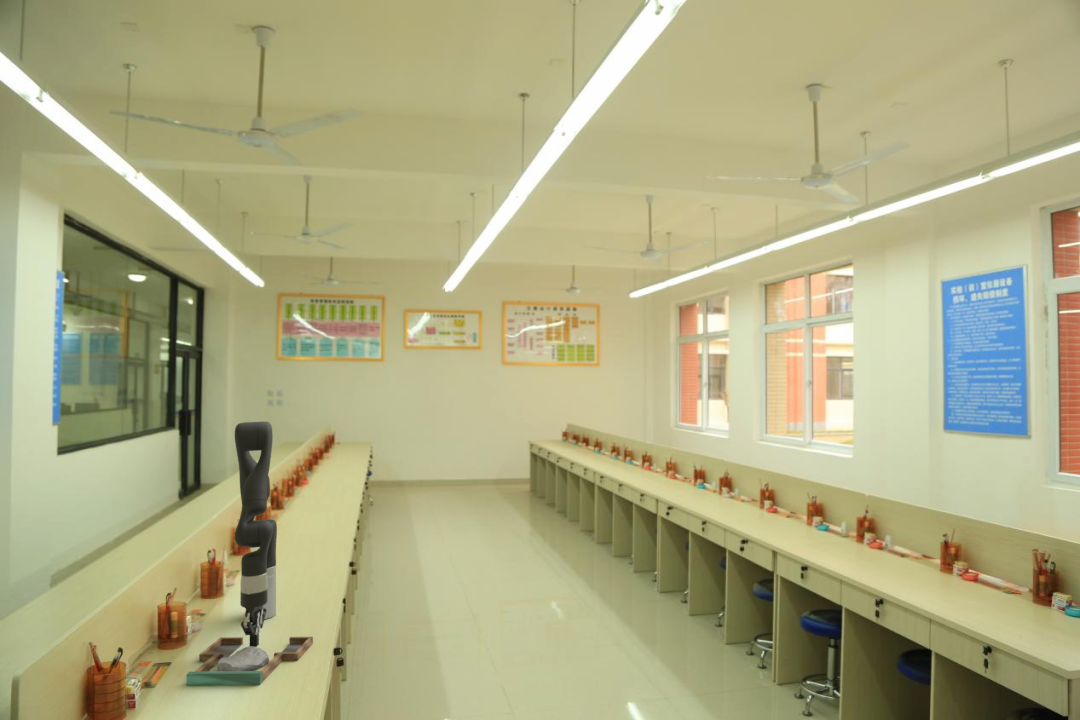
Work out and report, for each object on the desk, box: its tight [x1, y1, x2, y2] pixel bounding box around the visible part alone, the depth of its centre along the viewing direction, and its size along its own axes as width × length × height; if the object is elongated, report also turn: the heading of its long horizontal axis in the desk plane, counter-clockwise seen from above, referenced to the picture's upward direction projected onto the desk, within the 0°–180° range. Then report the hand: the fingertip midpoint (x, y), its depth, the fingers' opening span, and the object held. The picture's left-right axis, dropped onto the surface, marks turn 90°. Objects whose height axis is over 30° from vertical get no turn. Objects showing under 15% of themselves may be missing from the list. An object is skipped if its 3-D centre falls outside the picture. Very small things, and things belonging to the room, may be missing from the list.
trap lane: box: [186, 636, 314, 686], centre depth 197 cm, size 28×29×3 cm
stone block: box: [216, 645, 270, 671], centre depth 194 cm, size 12×5×10 cm
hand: (254, 646), depth 202 cm, fingers closed
